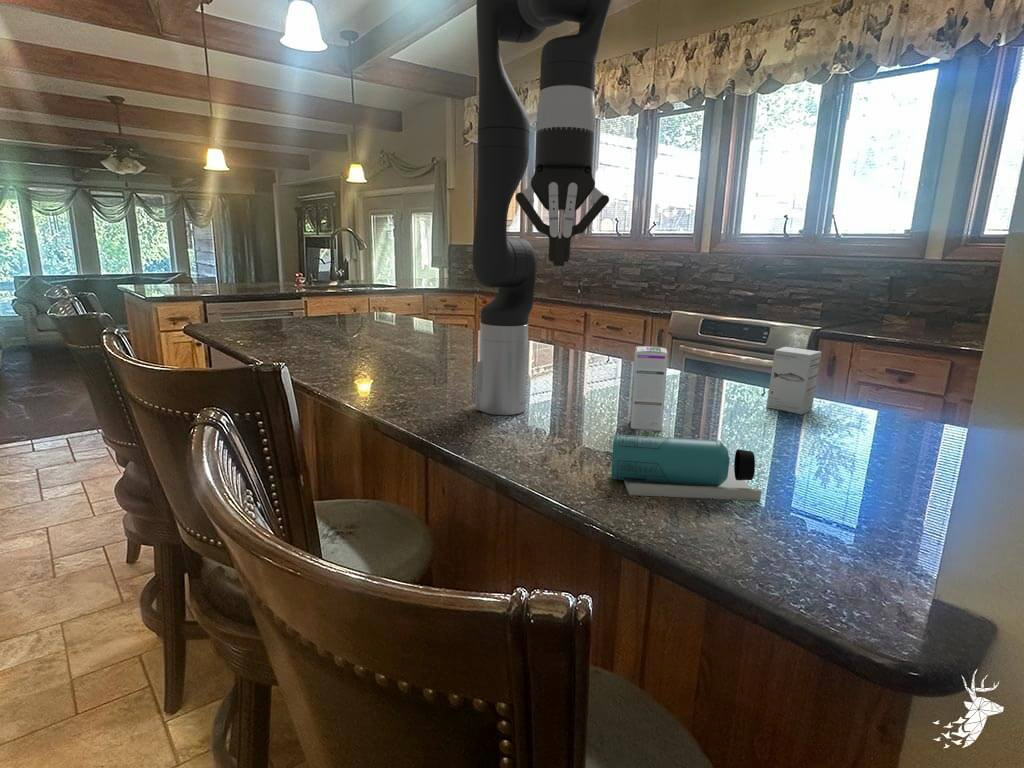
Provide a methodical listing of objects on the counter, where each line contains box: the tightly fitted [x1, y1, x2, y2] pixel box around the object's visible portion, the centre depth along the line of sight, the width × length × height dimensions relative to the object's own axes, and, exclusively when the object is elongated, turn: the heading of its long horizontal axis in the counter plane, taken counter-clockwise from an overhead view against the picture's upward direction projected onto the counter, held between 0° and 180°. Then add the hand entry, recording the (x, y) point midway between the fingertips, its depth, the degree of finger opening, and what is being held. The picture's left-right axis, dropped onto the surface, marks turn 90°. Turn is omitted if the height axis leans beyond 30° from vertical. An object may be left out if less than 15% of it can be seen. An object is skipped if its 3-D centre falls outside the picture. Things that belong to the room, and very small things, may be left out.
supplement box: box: [766, 346, 823, 416], centre depth 119 cm, size 7×7×13 cm
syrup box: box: [630, 345, 669, 432], centre depth 104 cm, size 6×6×14 cm
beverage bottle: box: [611, 433, 756, 487], centre depth 78 cm, size 6×7×20 cm
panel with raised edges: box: [623, 456, 762, 502], centre depth 81 cm, size 17×13×1 cm
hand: (558, 266), depth 78 cm, fingers closed
